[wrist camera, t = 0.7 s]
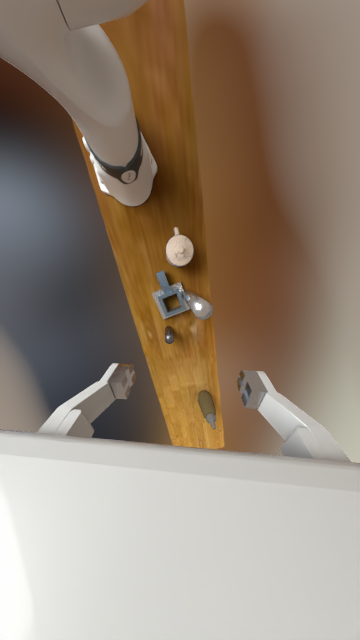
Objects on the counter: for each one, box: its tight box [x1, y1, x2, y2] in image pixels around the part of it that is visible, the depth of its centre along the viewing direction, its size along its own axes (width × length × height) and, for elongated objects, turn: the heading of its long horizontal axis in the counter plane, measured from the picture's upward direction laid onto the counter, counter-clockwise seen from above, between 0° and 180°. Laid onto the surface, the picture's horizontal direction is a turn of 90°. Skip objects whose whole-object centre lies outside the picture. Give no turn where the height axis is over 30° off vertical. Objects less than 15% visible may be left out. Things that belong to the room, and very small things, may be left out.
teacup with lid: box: [166, 227, 194, 267], centre depth 43 cm, size 12×9×12 cm
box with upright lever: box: [152, 271, 213, 320], centre depth 41 cm, size 18×15×26 cm
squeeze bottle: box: [198, 391, 216, 429], centre depth 66 cm, size 8×8×18 cm
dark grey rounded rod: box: [165, 326, 174, 344], centre depth 54 cm, size 3×3×10 cm
